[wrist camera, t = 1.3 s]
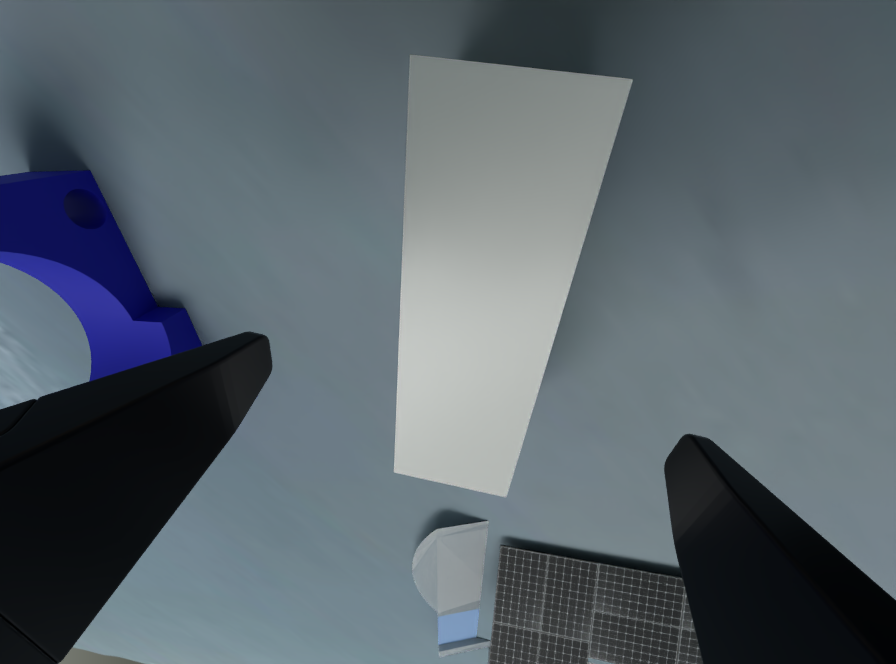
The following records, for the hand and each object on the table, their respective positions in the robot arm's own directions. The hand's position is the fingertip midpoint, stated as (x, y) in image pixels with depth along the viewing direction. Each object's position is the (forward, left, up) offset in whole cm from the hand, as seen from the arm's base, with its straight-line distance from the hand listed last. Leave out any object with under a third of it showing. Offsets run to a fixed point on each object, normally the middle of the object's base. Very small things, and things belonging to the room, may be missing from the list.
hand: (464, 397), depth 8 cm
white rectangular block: (0, 0, -7) cm, 7 cm away
